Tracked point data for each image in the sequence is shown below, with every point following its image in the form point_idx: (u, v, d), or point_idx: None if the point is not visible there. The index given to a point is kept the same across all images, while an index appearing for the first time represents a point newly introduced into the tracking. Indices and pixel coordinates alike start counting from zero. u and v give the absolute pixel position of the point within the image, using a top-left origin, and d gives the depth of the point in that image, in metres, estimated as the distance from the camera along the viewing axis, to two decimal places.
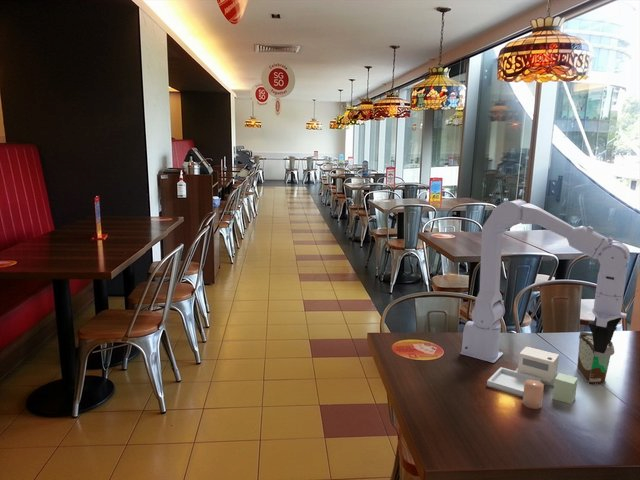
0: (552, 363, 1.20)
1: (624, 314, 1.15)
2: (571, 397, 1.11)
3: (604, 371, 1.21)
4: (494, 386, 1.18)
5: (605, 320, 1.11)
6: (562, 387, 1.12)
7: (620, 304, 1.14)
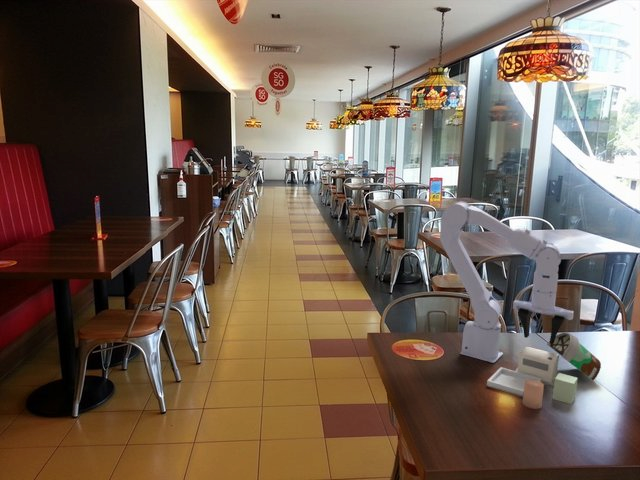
0: (552, 363, 1.20)
1: (538, 309, 1.26)
2: (571, 397, 1.11)
3: (590, 360, 1.22)
4: (494, 386, 1.18)
5: None
6: (562, 387, 1.12)
7: (536, 298, 1.27)
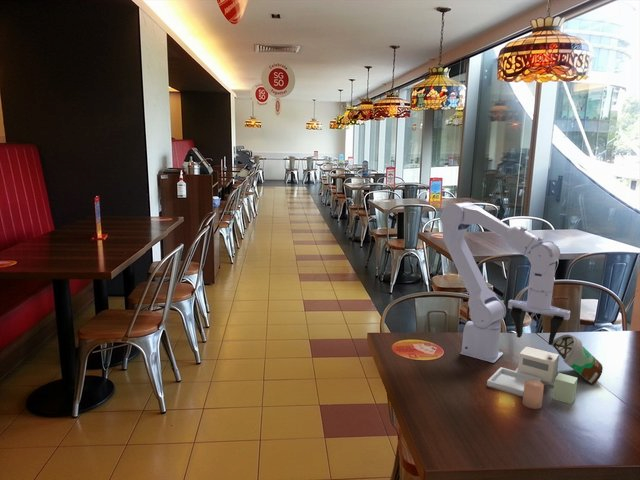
0: (552, 363, 1.20)
1: (534, 309, 1.23)
2: (571, 397, 1.11)
3: (591, 365, 1.21)
4: (494, 386, 1.18)
5: None
6: (562, 387, 1.12)
7: (532, 298, 1.23)
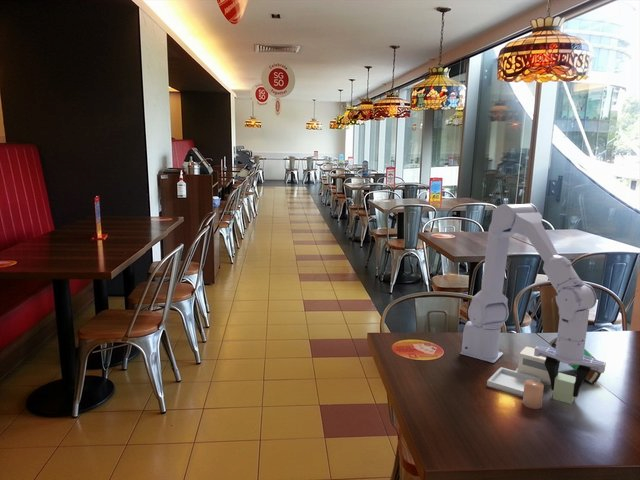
0: None
1: (564, 359, 1.10)
2: (571, 397, 1.11)
3: None
4: (494, 386, 1.18)
5: None
6: (562, 387, 1.12)
7: (562, 347, 1.10)
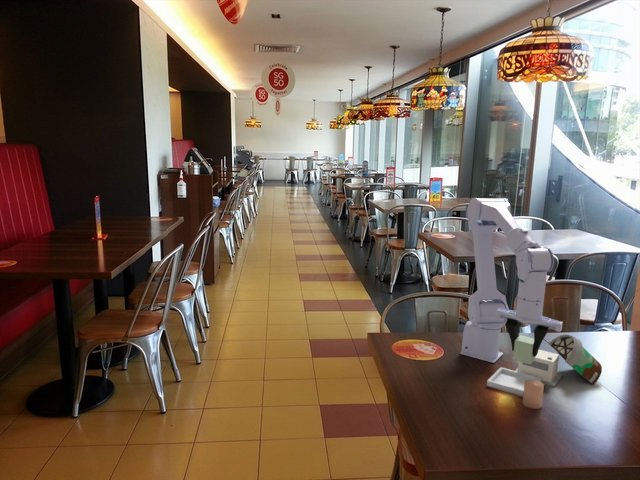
0: (552, 363, 1.20)
1: (523, 319, 1.13)
2: (530, 357, 1.15)
3: (592, 364, 1.21)
4: (494, 386, 1.18)
5: None
6: (521, 348, 1.16)
7: (521, 307, 1.14)
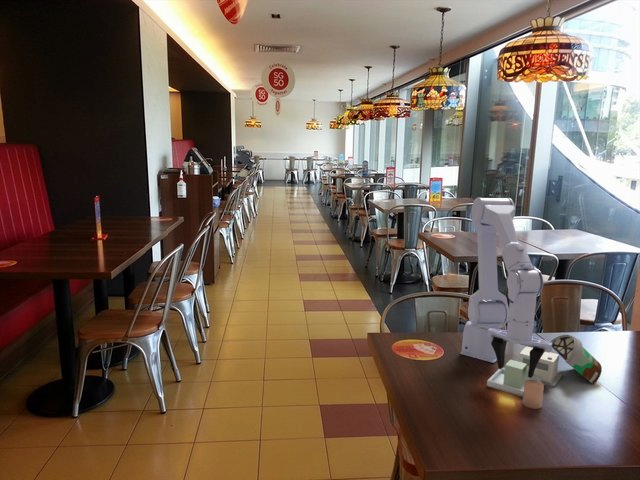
0: (552, 363, 1.20)
1: (514, 340, 1.15)
2: (520, 382, 1.17)
3: (592, 364, 1.21)
4: (494, 386, 1.18)
5: None
6: (511, 373, 1.18)
7: (512, 328, 1.16)
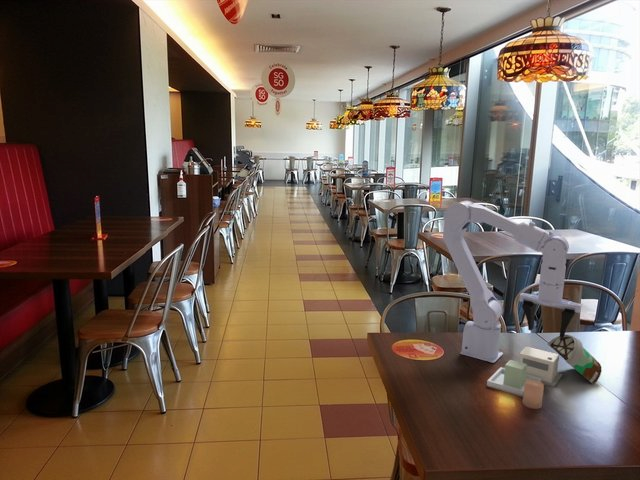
0: (552, 363, 1.20)
1: (545, 302, 1.24)
2: (520, 382, 1.17)
3: (592, 364, 1.21)
4: (494, 386, 1.18)
5: None
6: (511, 373, 1.18)
7: (543, 291, 1.25)
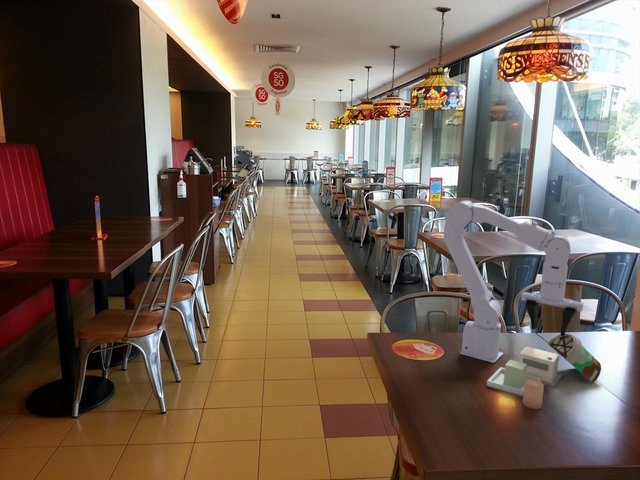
0: (552, 363, 1.20)
1: (547, 301, 1.25)
2: (520, 382, 1.17)
3: (591, 362, 1.22)
4: (494, 386, 1.18)
5: None
6: (511, 373, 1.18)
7: (546, 290, 1.25)
